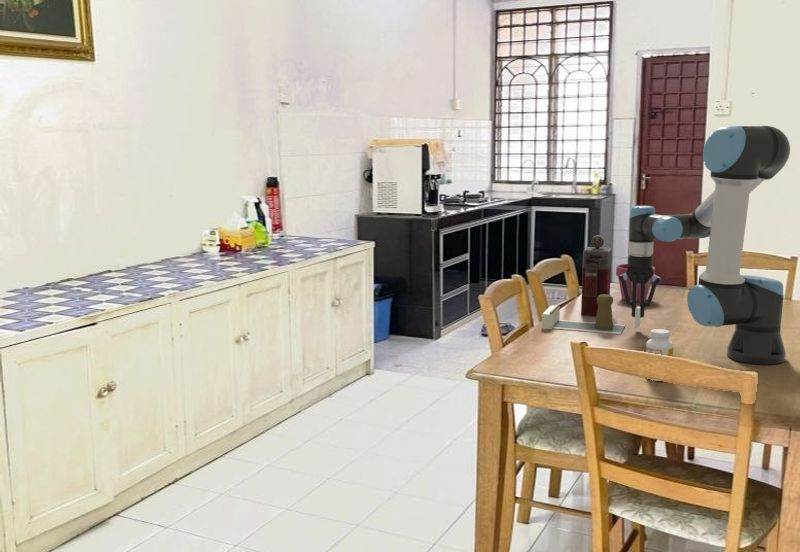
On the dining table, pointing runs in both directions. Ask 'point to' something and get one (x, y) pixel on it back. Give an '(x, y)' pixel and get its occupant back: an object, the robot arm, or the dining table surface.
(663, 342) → the supplement bottle
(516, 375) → the dining table surface
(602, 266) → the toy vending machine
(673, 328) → the dining table surface
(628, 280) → the plant pot
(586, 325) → the mat
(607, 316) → the cork
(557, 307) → the stop block
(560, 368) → the dining table surface
